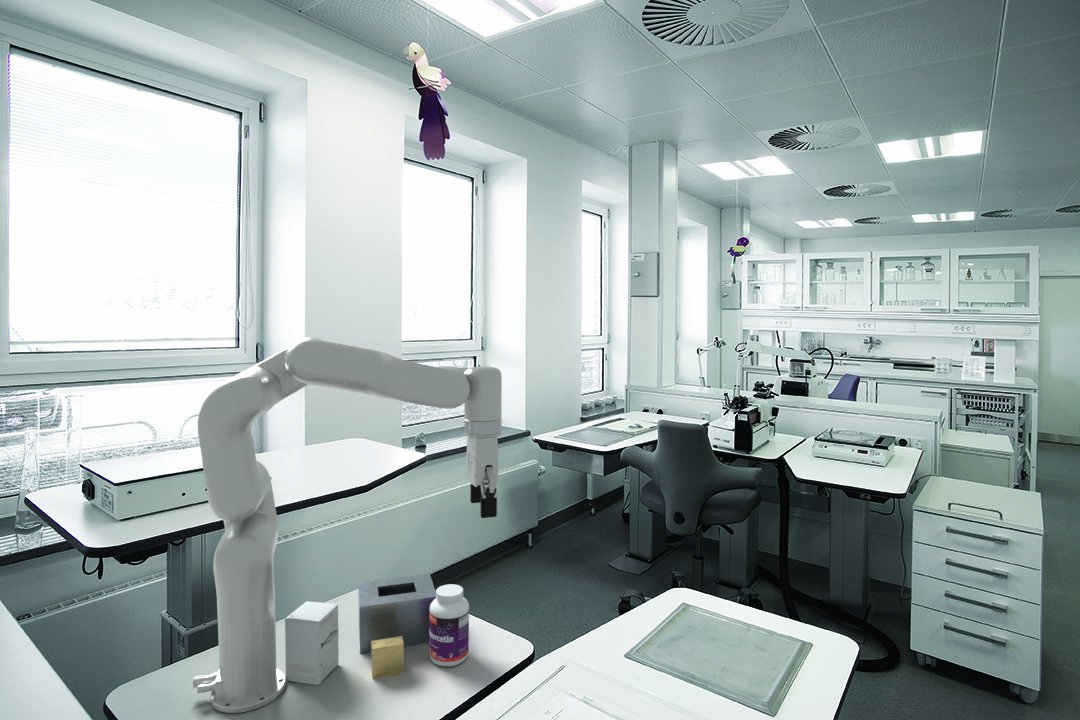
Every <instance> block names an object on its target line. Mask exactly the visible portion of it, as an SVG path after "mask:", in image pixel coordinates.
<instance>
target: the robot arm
mask: <svg viewBox="0 0 1080 720" xmlns="http://www.w3.org/2000/svg"><path fill="white" fill-rule="evenodd" d="M502 382H503V381H502V372H501V370H500V369H499V368H497V367H493V366H472V367H468V368H467V367H456V366H449V365H440V366H435V365H434V366H433V365H427V364H422V363H418V362H413V361H410V360H405V359H403V358H399V357H396V356H393V355H391V354H389V353H387V352H383V351H381V350H375V349H370V348H364V347H359V346H358V347H357V346H354V345H349V344H342V343H337V342H332V341H326V340H322V339H321V338H318V337H313V336H305V337H301V338H300V339H297V340H296V341H294V342H293V343H292V344H290V345H289V346H287V347H285V348H284V349H281V350H280V351H279V352H277V353H275V354H273V355H271V356H269V357H268V358H266V359H264V360H263V361H260V362H259V363H257V364H255V365H253V366H251V367H249V368H247V369H246V370H243V371H241V372H239V373H238V374H235V375H234V376H232V377H230V378H229V379H227V380H226V381H224V382H223V383H221V384H220V385H218V386H217V387H216V388H215V389H214V390H212V392H211V393H210V394H208V395H207V397H206V398H205V400H204V402H203V403H202V406H200V407H201V408H200V409H199V413H198V418H197V436H198V441H199V446H200V452H201V453H200V454H201V460H202V469H203V474H204V481H205V486H206V487H205V488H206V495H207V501H208V506H209V508H210V510H211V512H212V513H213V514H214V515H215V516H216V517H217V518H218V519H220V520H222V521H223V524H224V531H225V532H224V533H223V535H222V536H221V538H220V540H219V541H218V544H217V546H216V547H215V552H214V557H213V564H212V565H213V566H212V567H213V576H214V583H215V590H216V609H217V632H218V639H217V640H218V659H219V660H218V668H219V669H218V671H213V673H211V674H200V675H195V676H194V677H193V681H192V688H193V689H197V692H196V693H197V694H202V693H207V692H210V696H209V697H210V699H209V700H210V705H211V707H212V708H214V710H216V711H218V712H222V713H225V714H226V713H227V714H239V713H247V712H249V711H253V710H256V709H257V710H258V709H259V708H262V707H264V706H266V705H267V704H270V703H271V702H272V701H274V700H275V699H276V698H278V697H279V696H280V695H281V694H282V693H283V691H284V690H285V688H286V683H287V680H286V673H284V672H283V671H282V670H281V669H279V668H277V634H276V633H277V630H276V629H277V628H276V626H277V625H276V593H275V592H276V591H275V590H276V589H275V588H276V587H275V576H274V574H275V573H274V556H275V551H276V548H277V543H278V539H279V534H280V531H279V521H278V516H277V515H278V514H277V509H276V503H275V499H274V491H273V486H272V485H273V484H272V479H271V477H270V473H269V471H268V470H267V468H266V466H264V465H263V463H261V462H260V461H259V460H257V457H256V450H255V442H254V438H253V435H252V426H253V423H254V421H255V420H257V419H258V418H260V417H262V416H263V415H265V414H267V412H269V411H270V410H271V409H272V408H273V407H274V406H275V405H277V404H278V403H280V402H282V401H284V400H285V399H286V398H288V397H290V396H292V395H293V394H295V393H297V392H299V391H300V390H302V389H303V388H305V387H307V386H309V385H310V386H311V385H312V386H318V387H323V388H330V389H337V390H343V391H349V392H353V393H358V394H364V395H369V396H374V397H378V398H384V399H389V400H390V399H392V400H394V401H395V400H396V401H401V402H405V403H409V404H415V405H419V406H427V407H434V408H439V409H446V410H451V409H456V408H459V407H461V406H462V405H463V404H464V435H465V437H467V439H466V440H467V441H466V457H465V459H466V463H465V476H466V478H467V479H468V481H469V482H470V485H469V486H470V488H469V489H470V491H469V492H470V493H469V494H470V496H469V498H470V499H469V500H470V503H471V504H479V503H480V518H481V519H486V518H495V517H497V515H498V509H497V508H498V491H497V488H496V487H497V484H498V483H499V446H498V437H500V436H501V435H502V428H503V427H502V423H503V422H502V414H503V413H502V399H503V398H502V393H503V392H502V387H503V385H502Z"/></svg>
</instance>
